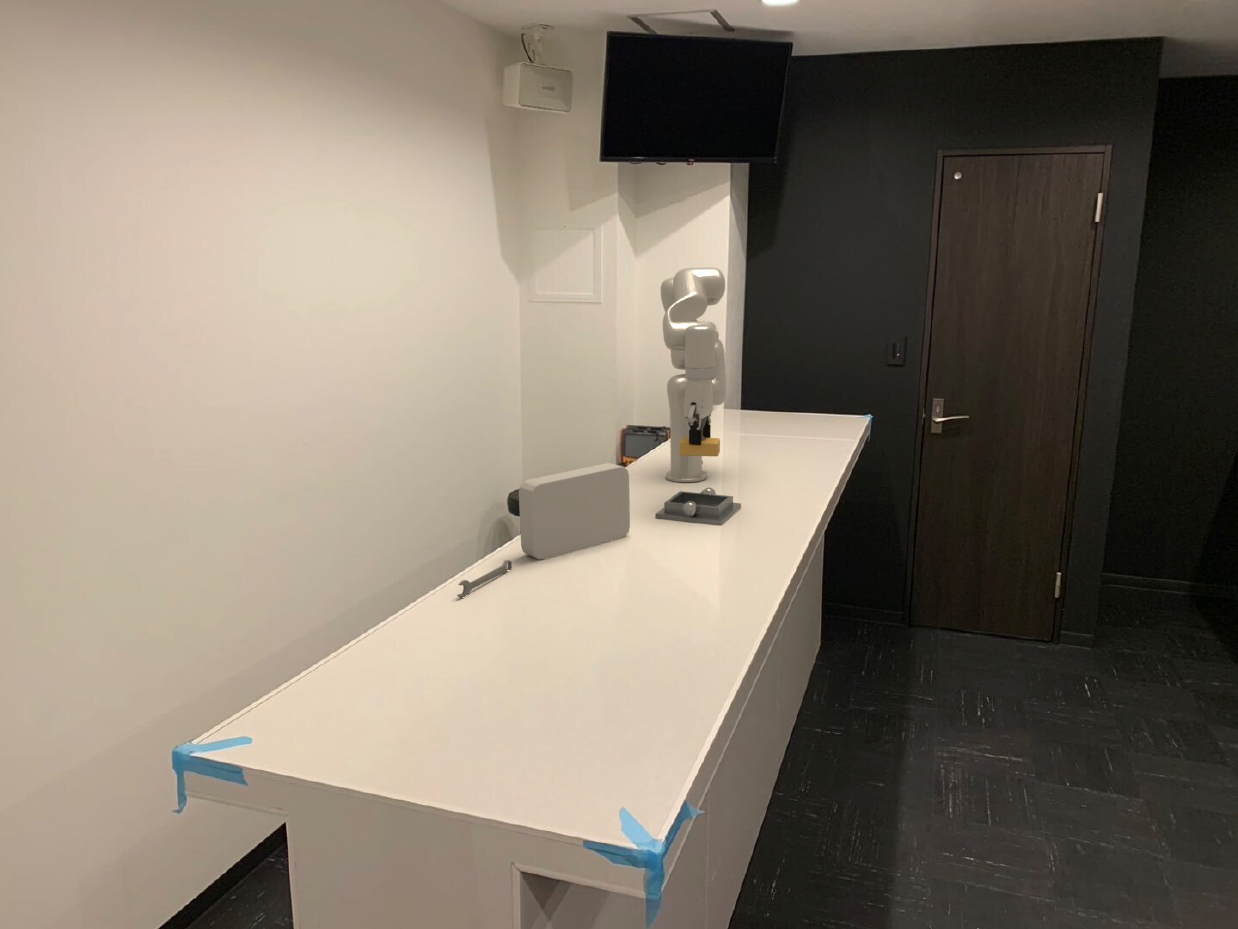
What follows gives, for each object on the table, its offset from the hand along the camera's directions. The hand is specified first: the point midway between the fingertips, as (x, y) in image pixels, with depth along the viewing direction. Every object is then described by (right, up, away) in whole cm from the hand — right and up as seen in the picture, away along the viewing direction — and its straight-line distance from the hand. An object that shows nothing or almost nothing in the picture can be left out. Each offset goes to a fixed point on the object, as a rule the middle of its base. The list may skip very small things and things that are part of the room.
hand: (699, 441), depth 244 cm
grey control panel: (-31, -26, -20) cm, 45 cm away
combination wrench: (-50, -32, -44) cm, 74 cm away
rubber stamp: (0, -3, +1) cm, 4 cm away
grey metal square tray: (0, -19, +4) cm, 19 cm away
